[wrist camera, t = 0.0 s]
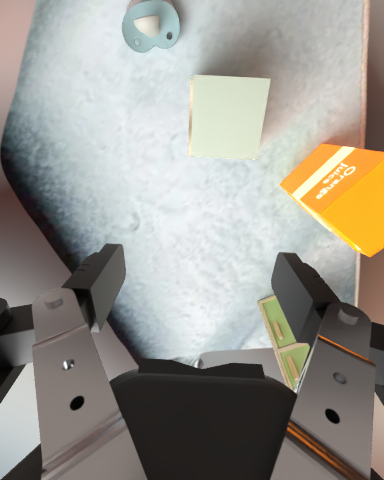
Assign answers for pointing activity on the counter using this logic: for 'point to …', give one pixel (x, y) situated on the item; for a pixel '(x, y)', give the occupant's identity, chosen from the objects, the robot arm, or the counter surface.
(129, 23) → the pacifier
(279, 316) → the toy refrigerator
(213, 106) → the sage block
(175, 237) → the counter surface
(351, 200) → the orange juice
